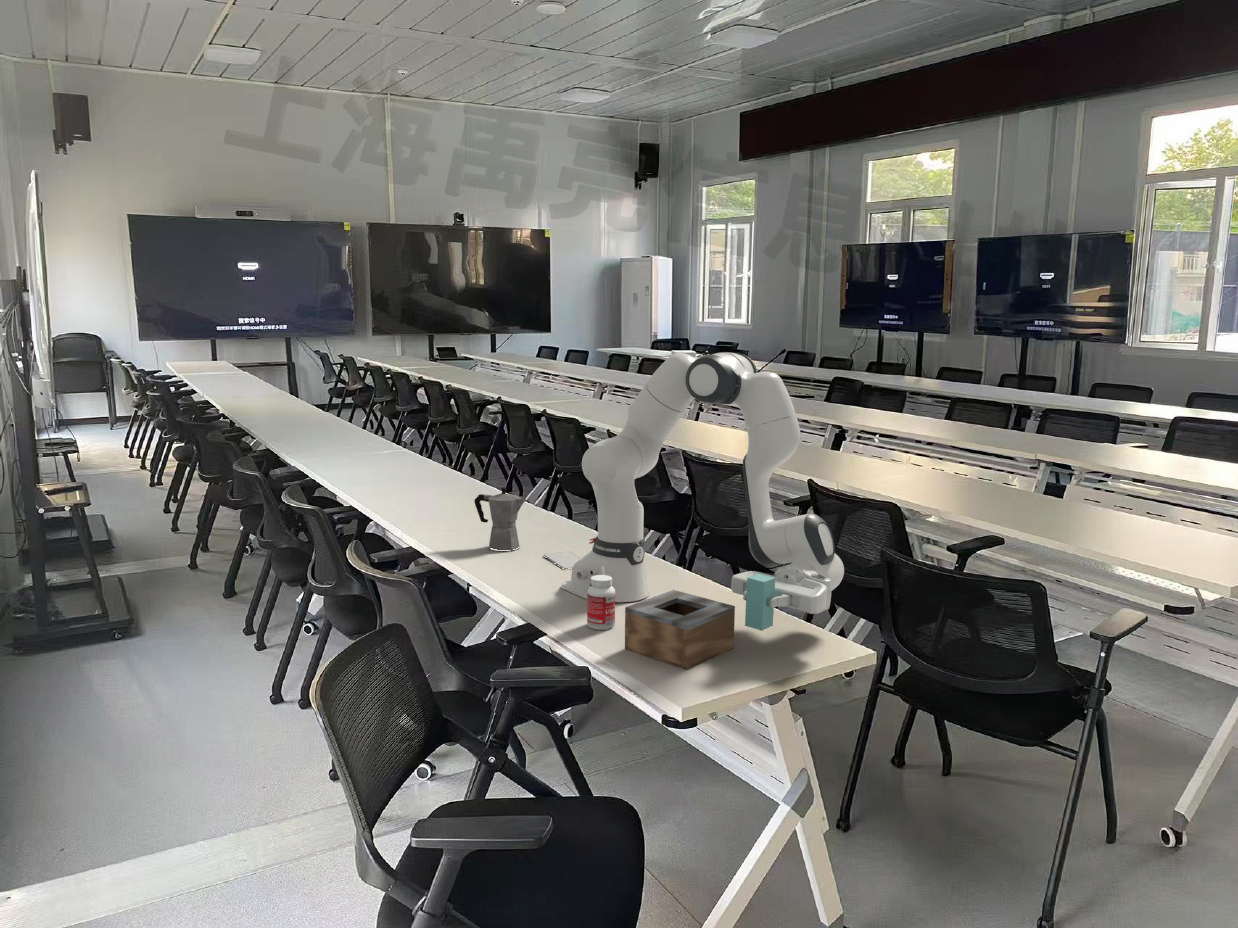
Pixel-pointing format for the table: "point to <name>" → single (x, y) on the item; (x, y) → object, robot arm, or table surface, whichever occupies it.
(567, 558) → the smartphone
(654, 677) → the table surface
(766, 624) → the block
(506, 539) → the coffeepot
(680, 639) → the drop box
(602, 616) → the pill bottle
